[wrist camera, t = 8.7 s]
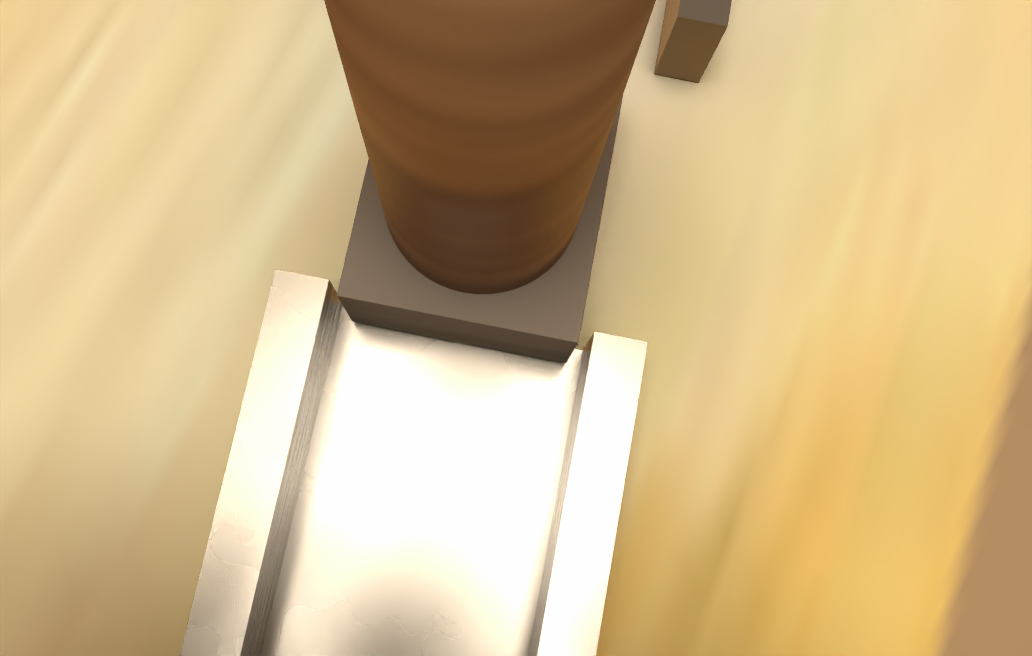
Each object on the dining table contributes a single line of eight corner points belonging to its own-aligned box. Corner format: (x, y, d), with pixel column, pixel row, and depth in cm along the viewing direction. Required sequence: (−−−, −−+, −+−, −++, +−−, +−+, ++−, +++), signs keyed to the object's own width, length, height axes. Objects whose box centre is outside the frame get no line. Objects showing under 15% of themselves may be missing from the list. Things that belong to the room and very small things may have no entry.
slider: (565, 363, 20) (744, 54, 7) (352, 321, 20) (124, -67, 7) (614, 100, 21) (844, -590, 8) (412, 61, 21) (314, -697, 8)
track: (554, 794, 19) (566, 831, 16) (193, 724, 19) (155, 752, 16) (628, 362, 20) (647, 342, 18) (297, 297, 20) (275, 268, 18)
